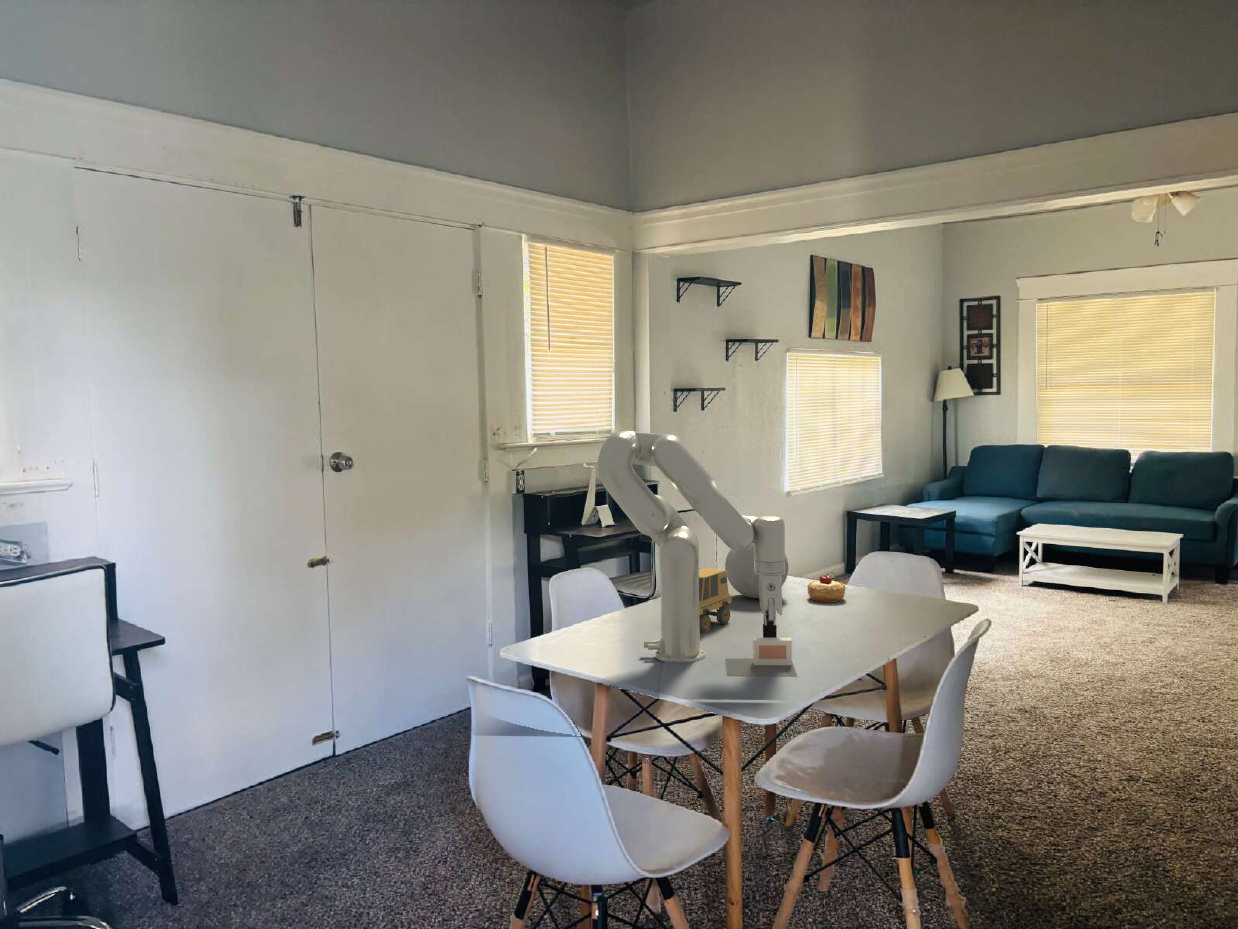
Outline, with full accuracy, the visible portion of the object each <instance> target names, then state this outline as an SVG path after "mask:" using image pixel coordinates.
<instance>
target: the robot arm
mask: <svg viewBox="0 0 1238 929" xmlns="http://www.w3.org/2000/svg"><path fill="white" fill-rule="evenodd" d="M598 454H599V455H598V458H597V473H598V476H599V479H600V482H601V483H602V485H603V487H604V488H605V490H606V491H607V493H608V494H609V495H610V497H611V498H612V499H613V500H614V501H615V503H617V505H618V506H619V508H620V509H621V510H622V511H623V513H624V514H625V515H626V516H627V518H629V520H630V521H631V522H632V524H633V525H634V527H635V528H636V529H637V530H638V531H639V532H640V533H641V534H643V535H645V536H648V537H650V538H651V539H652V541H654V543H655V544H656V545H657V546H658V548H659V559H658V560H659V574H660V578H659V579H660V628H661V629H660V630H661V631H660V634H661V636H660V638H657V639H656V640H646V639H645V640H643V648H644V649H647V650H648V651H649V650H651V651H654V650H655V654H654V655H655V658H656V659H657V660H658V661H660V662H662V663H663V662H669V663H692V662H697V661H700V660H701V661H702V660H703V659H705V658H706V656H707V652H706V651H705V649H702V648H701V645H700V644H701V642H700V641H701V638H700V636H701V635H700V633H701V632H700V626H699V570H700V567H699V565H700V543H699V538H698V536H697V534H696V533H695V532H694V530H693V529H692V527H690V526H689V525H688V523H687V522H686V520H684V518H683V517H682V516H681V515H680V514H679V512H678V511H677V509H675V507H673V505H672V504H671V503H670V502H669V501H668V500H667V499H666V498H665V497H663V496H661V495H659V494H655V493H654V492H653V491H652V490H651V489H650V488H649V486H648V485H647V484H646V483H645V481H644V480H643V479H642V478H641V477H640V476H639V475H638V473H637V472H636V471H635V470H634V468H633V465H639V466H650V467H656V468H657V469H658V471H659V472H660V473H661V474H662V475H663V476H664V477H665V478H666V479H667V480H668V481H669V483H671V484H672V486H673V487H674V488H675V489H676V490H677V491H678V492H679V494H680V495H681V496H682V497H683V499H684V500H686V502H687V503H688V504H689V505H690V507H691V508H693V510H694V511H695V512H696V513H697V514H698V515H699V516H700V517H701V518H702V519H703V521H704V522H705V523H706V524H707V526H708V527H709V529H711V531H713V532H714V534H716V536H717V537H718V538H719V539H720V540H721V541H722V543H724V544H725V546H727V547H728V548H730V549H733V550H737V551H740V550H744V549H746V548H748V547H749V546H750V545H751V544H752V543H753V544H754V573H755V574H758V575H759V598H758V599H759V608H760V611H761V614H762V615H763V623H762V638H778V637H777V636H778V635H777V634H778V633H777V628H778V626H777V614H778V615H779V616H782V615H783V592H782V590H783V589H782V588H783V585H782V584H781V575H782V574H785V554H786V550H785V549H786V531H785V530H786V529H785V528H786V526H785V520H784V519H783V518H782V517H779V516H775V515H773V516H771V515H769V516H768V515H764V516H758V517H757V516H749V515H743V514H740V513H739V511H738V510H737V509H736V508H735V507H734V505H732V503H731V502H730V501H729V500H728V499H727V497H726V496H725V494H724V493H723V492H722V490H721V489H720V487H719V485H718V483H717V481H716V480H715V479H714V477H713V476H712V475H711V474H710V473H709V472H708V471H707V469H706V468H705V467H704V466H702V464H701V463H700V462H699V461H698V460H697V459H696V458H695V456H694V455H693V454H692V453H691V452H690V451H689V450H688V448H686V447H685V445H684V443H683V441H682V440H681V439H680V438H679V437H678V436H676V435H673V434H668V433H651V432H643V431H642V432H641V431H634V430H620V431H616V432H613V433H612V434H611V435H609V436H608V437H607V438H606V439H605V441H604V442H603V444H602V446H601V448H600V451H599V453H598Z"/></svg>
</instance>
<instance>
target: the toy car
mask: <svg viewBox="0 0 1238 929" xmlns="http://www.w3.org/2000/svg"><path fill="white" fill-rule="evenodd" d="M729 604H733V600H732V595H731V594H730V593H729V585H728V578H727V574H726V570H725V569H718V568H710V567H709V568H707V567H704V568H702V569H700V568H699V626H700V633H707V632H708V631H709V630H710V628H711V625H712V624H711V623H712V621H711V617H710V616H712V617H716V621H717V623H719V624H720V623H721V625H726V624H728V623H729V621H730V618H731V609H730V608H729V607H728V606H730V605H729ZM714 610H716V611H714Z"/></svg>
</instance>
